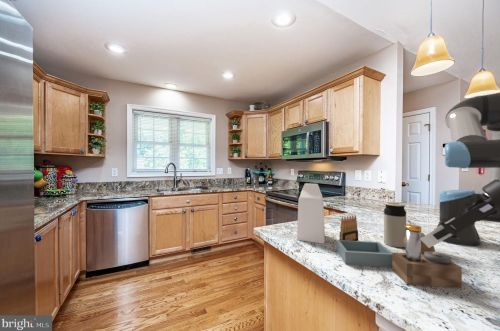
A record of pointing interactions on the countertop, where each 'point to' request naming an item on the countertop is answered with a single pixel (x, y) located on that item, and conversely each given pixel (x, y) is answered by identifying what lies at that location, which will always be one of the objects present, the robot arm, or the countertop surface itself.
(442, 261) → the block
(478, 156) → the robot arm
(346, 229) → the ammunition clip
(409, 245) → the pin
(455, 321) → the countertop surface
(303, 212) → the milk
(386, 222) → the travel mug
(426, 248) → the natural sponge
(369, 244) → the tray
